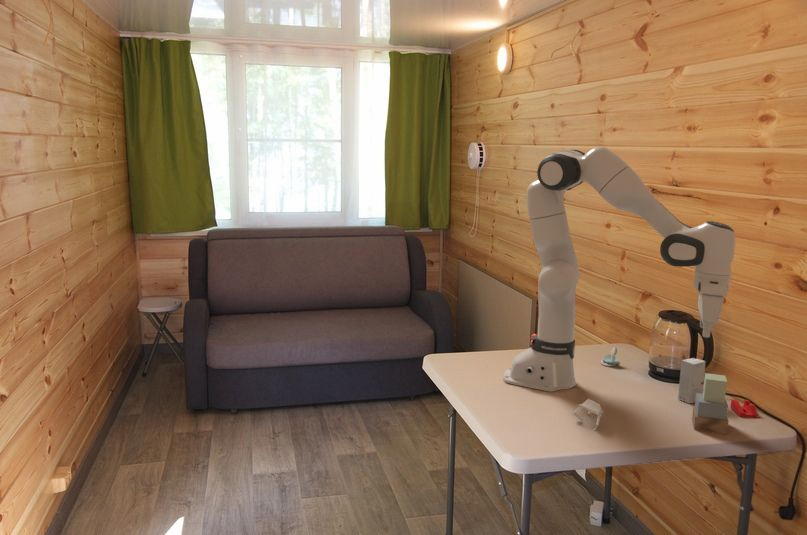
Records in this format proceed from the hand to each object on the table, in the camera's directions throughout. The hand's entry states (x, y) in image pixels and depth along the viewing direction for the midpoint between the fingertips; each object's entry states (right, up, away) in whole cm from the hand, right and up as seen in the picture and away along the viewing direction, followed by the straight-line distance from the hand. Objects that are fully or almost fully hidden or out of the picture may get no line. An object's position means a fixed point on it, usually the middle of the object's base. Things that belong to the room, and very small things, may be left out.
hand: (704, 332), depth 185 cm
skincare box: (+3, -22, +16) cm, 27 cm away
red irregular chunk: (+14, -24, +7) cm, 29 cm away
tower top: (0, -21, -3) cm, 22 cm away
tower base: (0, -25, -2) cm, 25 cm away
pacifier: (-11, -16, +47) cm, 51 cm away
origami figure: (-32, -25, -2) cm, 40 cm away
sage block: (+1, -17, -4) cm, 18 cm away
